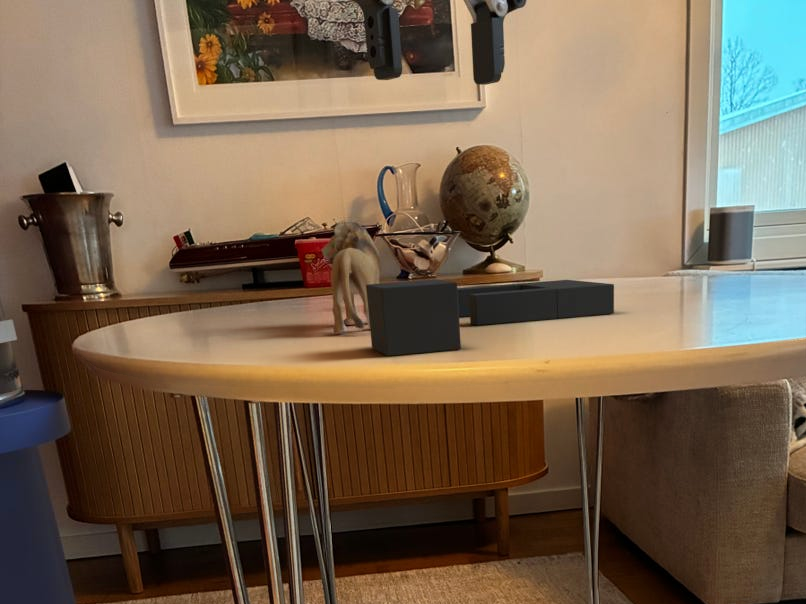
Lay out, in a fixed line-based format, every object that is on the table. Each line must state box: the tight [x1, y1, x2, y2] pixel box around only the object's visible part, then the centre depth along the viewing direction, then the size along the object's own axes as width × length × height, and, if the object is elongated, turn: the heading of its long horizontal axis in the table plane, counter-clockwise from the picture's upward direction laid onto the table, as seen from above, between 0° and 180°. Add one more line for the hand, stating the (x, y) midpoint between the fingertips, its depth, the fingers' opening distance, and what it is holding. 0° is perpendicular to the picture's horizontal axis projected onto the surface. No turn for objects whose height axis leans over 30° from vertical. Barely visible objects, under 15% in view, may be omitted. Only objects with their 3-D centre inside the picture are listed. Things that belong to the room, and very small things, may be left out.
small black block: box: [366, 279, 462, 357], centre depth 69 cm, size 5×5×4 cm
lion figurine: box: [320, 219, 382, 334], centre depth 86 cm, size 15×5×9 cm, turn 10°
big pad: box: [457, 279, 615, 326], centre depth 89 cm, size 13×11×2 cm
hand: (439, 81), depth 64 cm, fingers open, 8 cm apart
